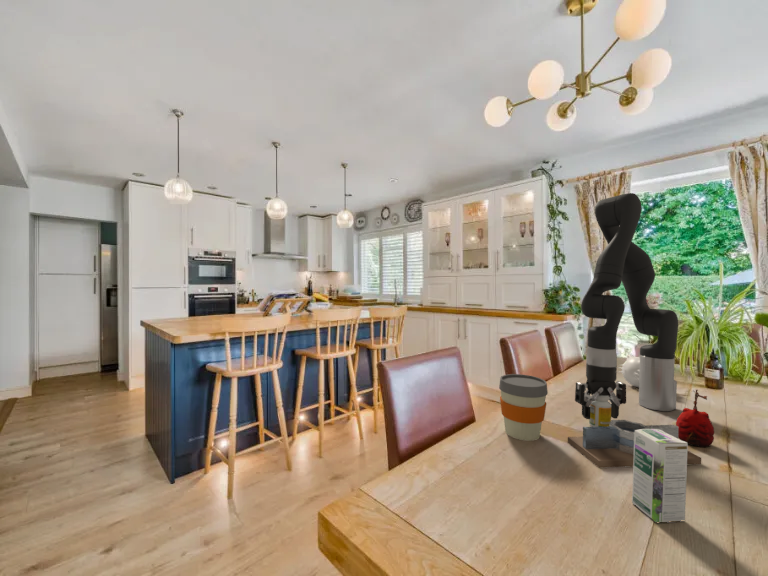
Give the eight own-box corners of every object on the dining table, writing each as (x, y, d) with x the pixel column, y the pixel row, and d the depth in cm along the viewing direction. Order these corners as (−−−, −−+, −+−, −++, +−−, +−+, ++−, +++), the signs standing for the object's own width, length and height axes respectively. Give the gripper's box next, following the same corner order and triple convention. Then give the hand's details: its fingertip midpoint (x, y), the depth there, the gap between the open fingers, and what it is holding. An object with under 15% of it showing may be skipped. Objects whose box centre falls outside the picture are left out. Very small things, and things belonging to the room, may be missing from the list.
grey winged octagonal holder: (660, 437, 90) (661, 418, 90) (692, 454, 81) (692, 433, 81) (573, 439, 88) (573, 420, 88) (596, 457, 80) (596, 436, 80)
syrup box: (630, 502, 66) (632, 428, 65) (658, 501, 66) (660, 427, 66) (656, 524, 60) (658, 443, 60) (687, 522, 60) (689, 441, 60)
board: (656, 439, 92) (657, 434, 92) (701, 464, 80) (701, 457, 80) (567, 442, 90) (567, 436, 90) (599, 467, 78) (599, 461, 78)
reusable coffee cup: (546, 428, 98) (547, 377, 98) (547, 447, 87) (548, 389, 87) (501, 420, 104) (501, 371, 103) (496, 438, 92) (496, 383, 92)
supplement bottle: (586, 425, 100) (586, 393, 100) (593, 421, 104) (593, 389, 103) (607, 432, 96) (607, 398, 96) (613, 427, 100) (614, 394, 99)
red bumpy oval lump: (713, 443, 90) (715, 387, 90) (714, 452, 85) (716, 393, 85) (675, 434, 95) (677, 381, 95) (674, 442, 90) (675, 386, 90)
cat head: (673, 393, 129) (673, 361, 129) (638, 393, 129) (639, 361, 129) (643, 381, 144) (644, 353, 144) (612, 381, 144) (612, 352, 144)
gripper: (614, 359, 104) (613, 412, 104) (569, 360, 103) (568, 413, 103) (634, 365, 96) (633, 422, 97) (586, 366, 95) (585, 423, 96)
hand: (600, 417), depth 100 cm, fingers open, 8 cm apart
